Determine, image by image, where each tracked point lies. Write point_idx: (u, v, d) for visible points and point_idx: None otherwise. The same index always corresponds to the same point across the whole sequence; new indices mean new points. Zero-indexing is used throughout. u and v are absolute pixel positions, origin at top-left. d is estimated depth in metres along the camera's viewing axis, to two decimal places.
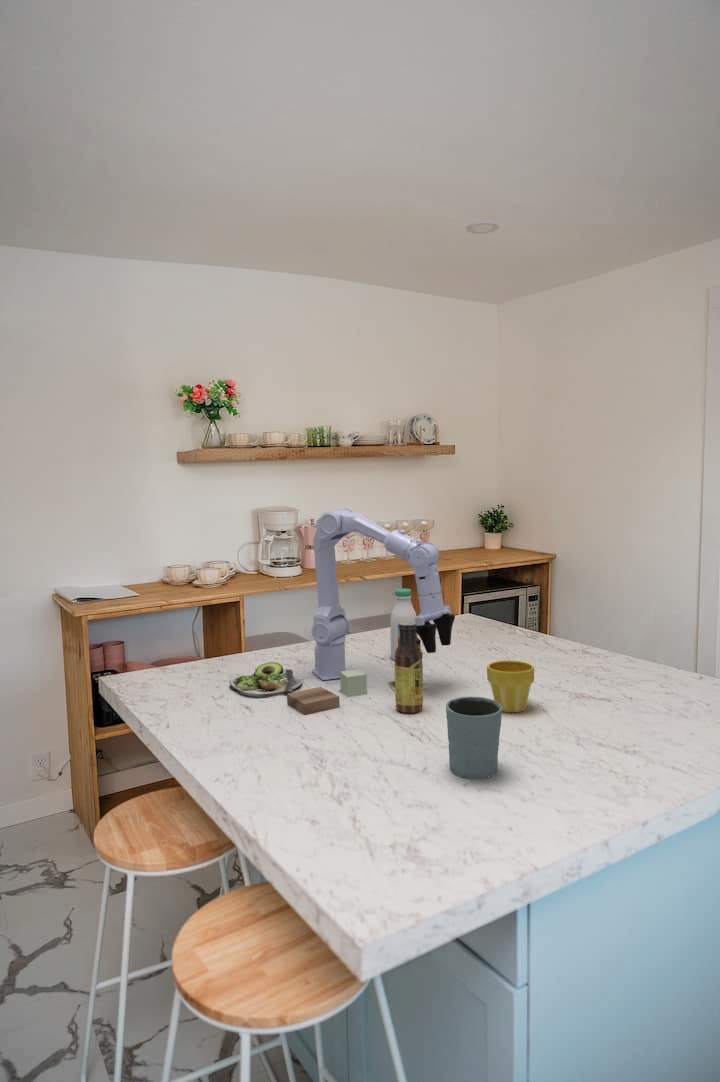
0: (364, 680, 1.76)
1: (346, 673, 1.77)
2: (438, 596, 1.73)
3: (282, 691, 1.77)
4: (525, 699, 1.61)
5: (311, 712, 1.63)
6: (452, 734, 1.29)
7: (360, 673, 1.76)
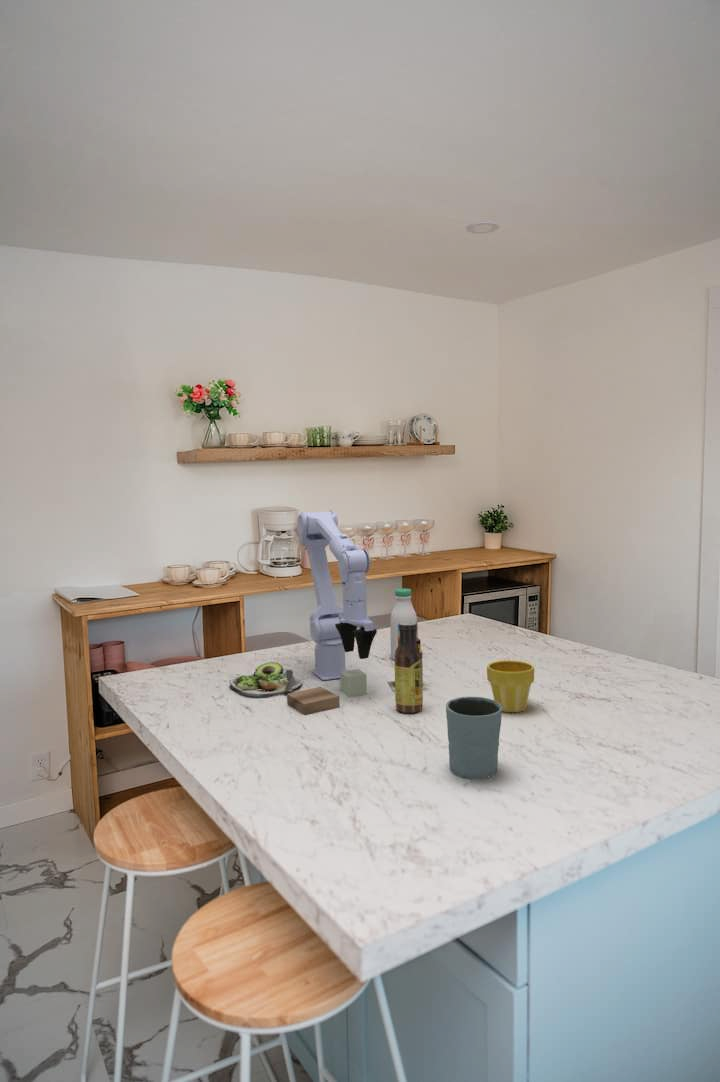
0: (364, 680, 1.76)
1: (346, 673, 1.77)
2: (343, 603, 1.74)
3: (282, 691, 1.77)
4: (525, 699, 1.61)
5: (311, 712, 1.63)
6: (452, 734, 1.29)
7: (360, 673, 1.76)
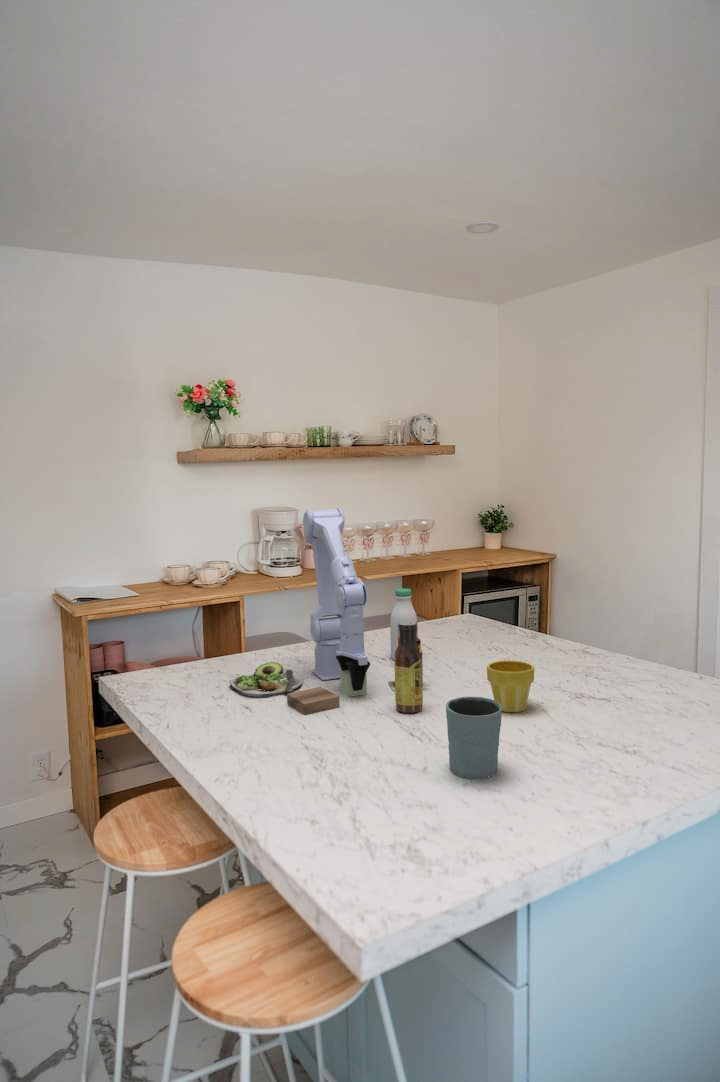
0: (364, 680, 1.76)
1: (346, 673, 1.77)
2: (340, 635, 1.76)
3: (282, 691, 1.77)
4: (525, 699, 1.61)
5: (311, 712, 1.63)
6: (452, 734, 1.29)
7: None
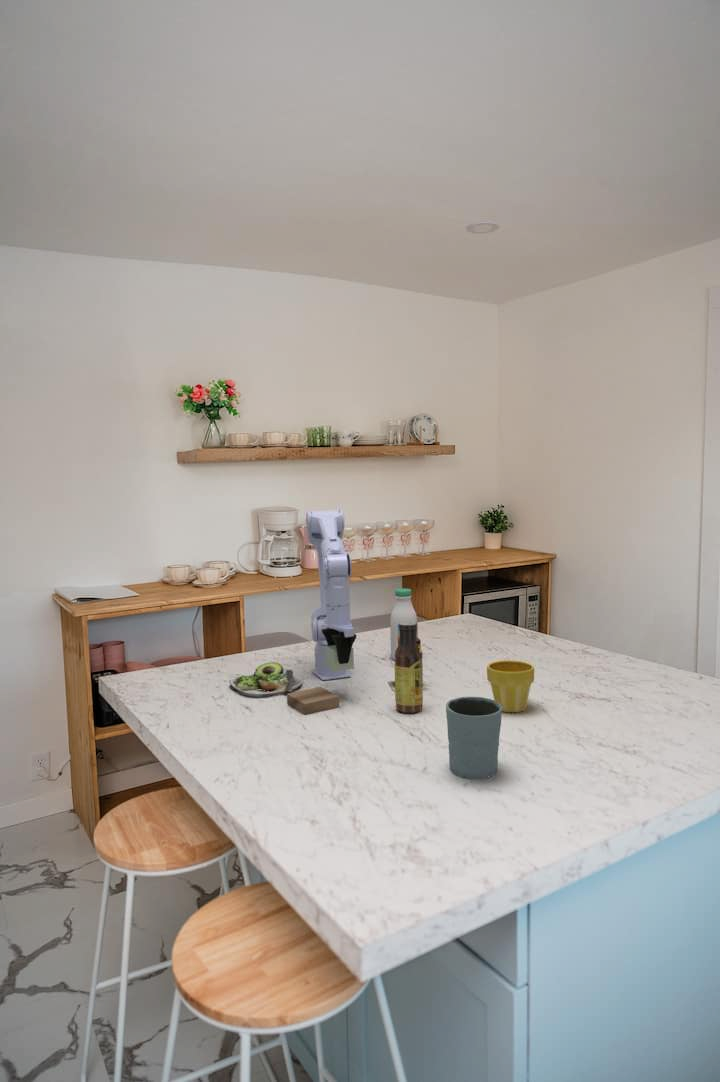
0: (351, 654, 1.72)
1: (333, 647, 1.73)
2: (326, 608, 1.72)
3: (282, 691, 1.77)
4: (525, 699, 1.61)
5: (311, 712, 1.63)
6: (452, 734, 1.29)
7: None
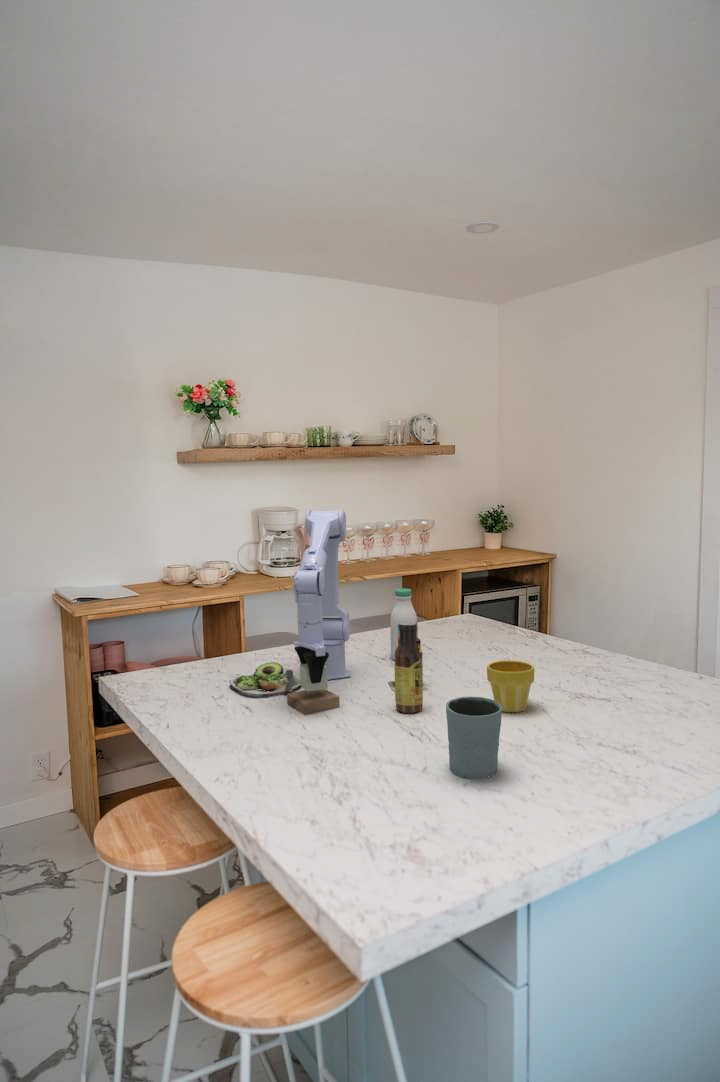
0: (324, 673, 1.66)
1: (306, 666, 1.67)
2: (298, 625, 1.66)
3: (282, 691, 1.77)
4: (525, 699, 1.61)
5: (311, 712, 1.63)
6: (452, 734, 1.29)
7: None
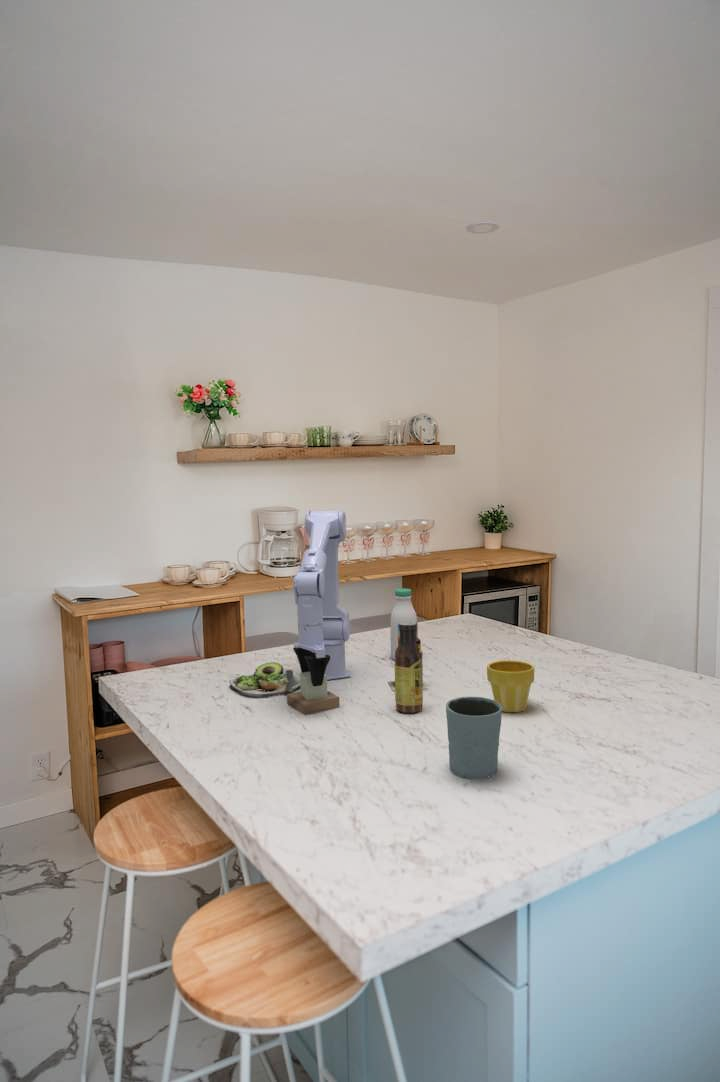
0: (324, 682, 1.67)
1: (306, 675, 1.68)
2: (298, 627, 1.66)
3: (282, 691, 1.77)
4: (525, 699, 1.61)
5: (311, 712, 1.63)
6: (452, 734, 1.29)
7: None
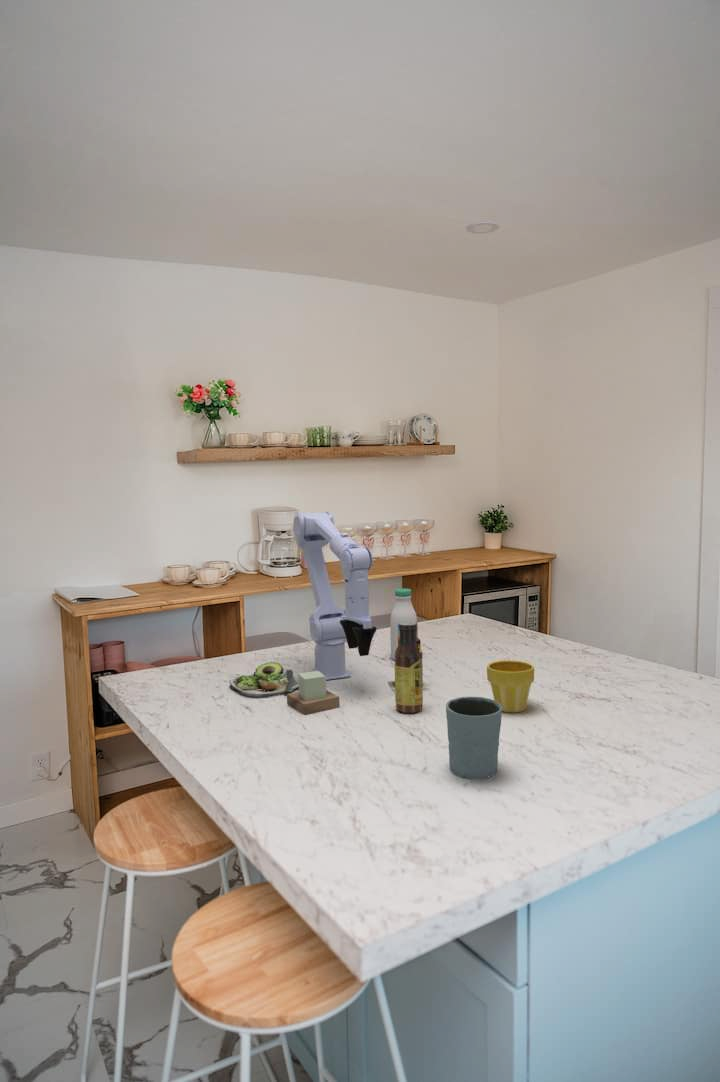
0: (323, 682, 1.66)
1: (304, 675, 1.67)
2: (345, 600, 1.76)
3: (282, 691, 1.77)
4: (525, 699, 1.61)
5: (311, 712, 1.63)
6: (452, 734, 1.29)
7: (319, 675, 1.67)
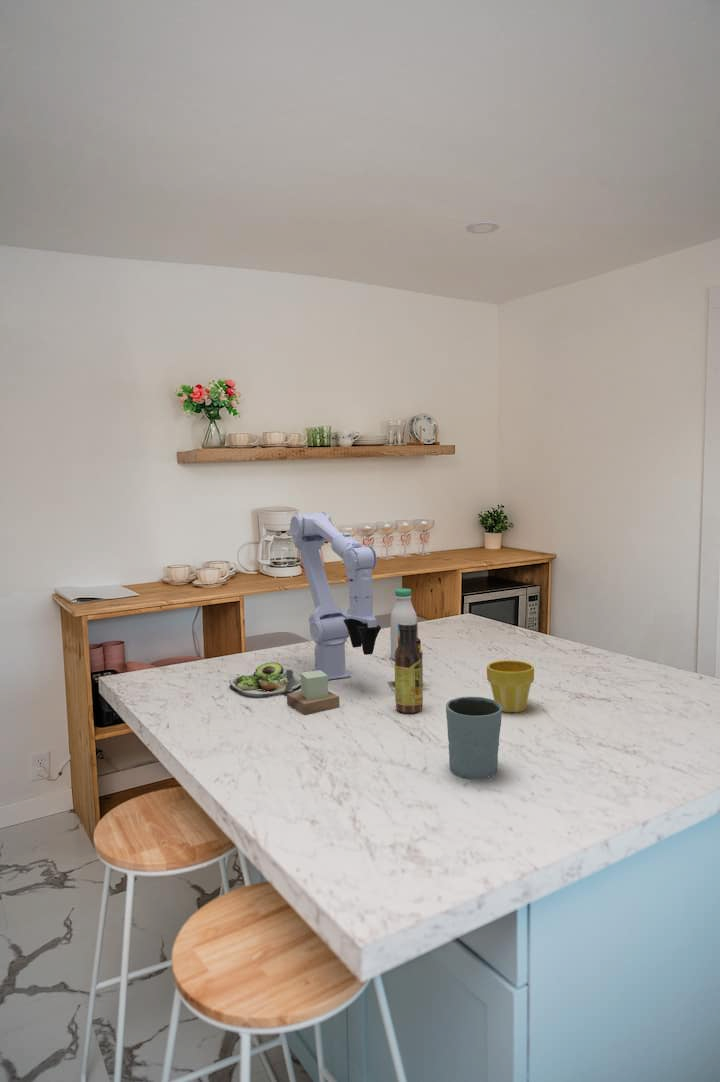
0: (325, 682, 1.67)
1: (307, 675, 1.67)
2: (349, 599, 1.77)
3: (282, 691, 1.77)
4: (525, 699, 1.61)
5: (311, 712, 1.63)
6: (452, 734, 1.29)
7: (321, 675, 1.67)
